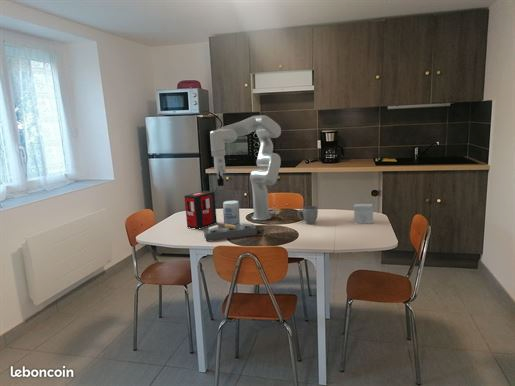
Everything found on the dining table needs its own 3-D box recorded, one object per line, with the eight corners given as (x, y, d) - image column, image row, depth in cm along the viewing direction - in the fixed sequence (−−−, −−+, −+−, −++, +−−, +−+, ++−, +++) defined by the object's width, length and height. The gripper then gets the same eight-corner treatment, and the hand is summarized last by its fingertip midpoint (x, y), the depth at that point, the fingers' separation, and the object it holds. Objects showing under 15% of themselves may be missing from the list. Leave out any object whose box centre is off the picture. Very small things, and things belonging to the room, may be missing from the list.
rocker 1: (217, 226, 212) (217, 224, 212) (218, 228, 209) (218, 226, 208) (208, 229, 211) (208, 227, 211) (209, 231, 208) (209, 229, 207)
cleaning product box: (206, 221, 247) (204, 190, 243) (216, 223, 241) (214, 191, 237) (187, 228, 234) (184, 195, 230) (197, 229, 228) (194, 197, 225)
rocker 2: (249, 224, 217) (249, 222, 217) (251, 226, 213) (251, 224, 213) (240, 223, 215) (240, 221, 215) (242, 225, 212) (242, 223, 212)
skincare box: (372, 220, 227) (372, 203, 225) (373, 223, 221) (373, 206, 219) (354, 220, 230) (354, 203, 228) (354, 223, 224) (354, 206, 222)
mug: (319, 221, 232) (318, 205, 230) (316, 225, 224) (316, 209, 222) (299, 221, 236) (298, 205, 234) (296, 225, 227) (296, 209, 225)
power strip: (261, 229, 222) (261, 221, 221) (265, 233, 214) (265, 225, 213) (204, 237, 213) (203, 228, 212) (206, 241, 206) (205, 232, 205)
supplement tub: (226, 228, 227) (224, 204, 225) (222, 224, 236) (221, 201, 234) (242, 226, 230) (240, 202, 227) (238, 222, 239) (236, 199, 236)
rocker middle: (233, 227, 214) (234, 225, 214) (235, 228, 211) (235, 226, 211) (224, 225, 213) (225, 223, 213) (225, 227, 210) (226, 225, 209)
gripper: (227, 153, 206) (229, 187, 210) (222, 151, 220) (224, 183, 224) (213, 154, 204) (216, 188, 208) (209, 152, 218) (212, 184, 222)
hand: (220, 185), depth 216 cm, fingers closed
